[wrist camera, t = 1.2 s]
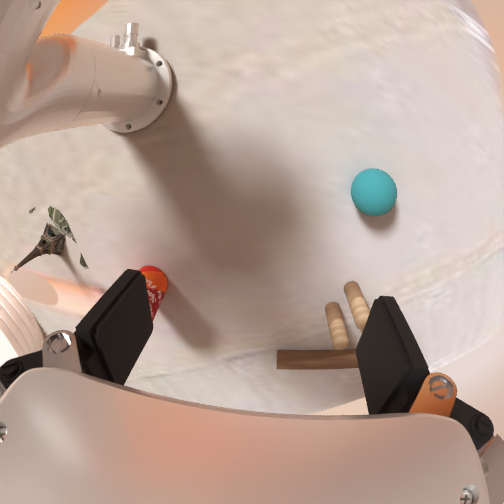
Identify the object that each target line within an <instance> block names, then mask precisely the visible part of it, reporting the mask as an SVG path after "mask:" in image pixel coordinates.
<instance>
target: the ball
mask: <svg viewBox="0 0 504 504" xmlns="http://www.w3.org/2000/svg"><path fill="white" fill-rule="evenodd" d="M351 195H352V199H353V202H354V204H355V205H356V207H357V208H358V209H359V210H360V211H361V212H363V213H364V214H367V215H370V216H380V215H383V214H385V213H387V212H389V211H390V210H391V209H392V207H393V206H394V204H395V202H396V198H397V189H396V185H395V183H394V181H393V179H392V178H391V177H390V176H389V175H388V174H387V173H386V172H384V171H382V170H379V169H367V170H364V171H362V172H361V173H359V174H358V175H357V176H356V178H355V179H354V181H353V183H352V187H351Z"/></svg>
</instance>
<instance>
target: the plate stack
mask: <svg viewBox="0 0 504 504" xmlns="http://www.w3.org/2000/svg"><path fill="white" fill-rule="evenodd" d="M43 342H44V338H43V335H42V332H41V329H40V327H39V325H38V323H37V321H36V319H35V317H34V315H33V314H32V312H31V310H30V309H29V307H28V306H27V304H26V303H25V302H24V300H23V299H22V298H21V296H20V294H19V293H18V292H17V291H16V289H15V288H14V287H13V286H12V285H10V284H9V283H8V282H7V281H6V280H5V279H3V278H2V277H1V276H0V365H1V366H2V365H3V363H5V362H6V361H8V360H10V359H13V358H16V357H20V356H23V355H26V354H30V353H33V352H36V351H40V350H42V346H43Z"/></svg>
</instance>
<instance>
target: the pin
mask: <svg viewBox="0 0 504 504" xmlns="http://www.w3.org/2000/svg"><path fill="white" fill-rule="evenodd" d="M325 311H326V316H327V320H328V325H329V330H330V335H331V340H332V345H333V348H334V349H336V350H343V349H345V348H347V347H348V345H349V339H348V335H347V332H346V328H345V324H344V321H343V317H342V314H341V310H340V307H339V304H338V303H336V302H331V303H328V304H327V305H326V307H325Z"/></svg>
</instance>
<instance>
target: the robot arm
mask: <svg viewBox="0 0 504 504" xmlns="http://www.w3.org/2000/svg"><path fill="white" fill-rule="evenodd" d="M59 2H60V0H0V149H1V148H3V147H5V146H7V145H8V144H10V143H13V142H15V141H17V140H20V139H23V138H26V137H29V136H32V135H36V134H41V133H45V132H50V131H56V130H61V129H67V128H74V127H81V126H88V125H96V124H103V125H104V126H105V127H107V128H108V129H110V130H113V131H116V132H133V131H137V130H140V129H142V128H144V127H146V126H148V125H149V124H151V123H152V122H153V121H155V120H156V119H157V118H158V116H159V115H160V114H161V113H162V111H163V110H164V109H165V107H166V105H167V103H168V101H169V99H170V95H171V91H172V82H173V81H172V73H171V70H170V66H169V65H168V63H167V61H166V60H165V59H164V58H163V57H162V55H160V54H159V53H157V52H156V51H154V50H152V49H149V48H145V47H140V43H138V42H137V36H138V26H139V24H138V23H128V24H126V25H125V27H124V44H122V45H121V50H120V49H119V44H120V36H112V37H111V38H110V46H108V45H105V44H102V43H98V42H95V41H92V40H88V39H85V38H81V37H78V36H74V35H70V34H53V35H49V36H45V37H41V38H39V36H40V34H41V32H42V30H43V28H44V27H45V25H46V23H47V21H48V20H49V18H50V16H51V14H52V13H53V11H54V10H55V8H56V6H57V5H58V3H59ZM38 38H39V39H38ZM161 63H162V65H161V66H160V64H161ZM161 101H163V102H162V104H161V103H160V102H161ZM130 125H131V127H130ZM152 331H153V321H152V316H151V310H150V304H149V298H148V292H147V285H146V278H145V275H142V273H141V271H139V270H132V269H127V270H126V271H125V272H124V273H123V274H122V275H121V276H120V277H119V278H118V279H117V280H116V281H115V283H114V284H113V285H112V286H111V287H110V288H109V289H108V290H107V291H106V293H105V294H104V295H103V296H102V297H101V298H100V299H99V300H98V302H97V303H96V304H95V305H94V306H93V307H92V309H91V310H90V311H89V312H88V313H87V314H86V316H85V317H84V318H83V319H82V320H81V322H80V323H79V324H78V325H77V326H76V331H75V332H74V334H73V333H72V332H70V331H67V330H59V331H56V332H53V333H51V334H50V335H48V336H47V337H46V338H45V340H44V342H43V346H42V350H40V351H36V352H33V353H30V354H26V355H23V356H20V357H16V358H13V359H10V360H8V361H6V362H5V363H3V365H2V366H1V367H0V504H503V502H504V441H503V440H502V439H501V437H500V436H499V435H498V434H497V435H496V436H494V435H493V432H494V428H493V424H492V422H491V420H490V419H489V417H488V416H486V415H485V414H483V413H481V412H480V411H478V410H476V409H475V408H473V407H471V406H470V405H468V404H466V403H464V402H463V401H461V400H459V399H458V398H456V395H457V388H456V385H455V383H454V382H453V380H452V379H451V378H450V377H448V376H447V375H445V374H442V373H437V372H436V373H431V374H430V372H429V370H428V365H427V363H426V361H425V359H424V357H423V354H422V352H421V350H420V348H419V346H418V344H417V342H416V339H415V337H414V335H413V333H412V331H411V329H410V327H409V325H408V323H407V321H406V319H405V317H404V315H403V313H402V312H401V310H400V308H399V306H398V304H397V302H396V300H395V298H394V297H391V296H380V297H379V298H378V299H375V300H374V302H373V305H372V308H371V311H370V314H369V316H368V319H367V322H366V325H365V327H364V330H363V333H362V335H361V338H360V340H359V343H358V345H357V348H356V357H357V361H358V366H359V370H360V374H361V379H362V383H363V388H364V392H365V397H366V401H367V407H368V412H369V415H341V416H339V415H338V416H321V415H319V416H318V415H293V414H277V413H265V412H255V411H246V410H238V409H230V408H223V407H217V406H211V405H205V404H199V403H194V402H189V401H184V400H179V399H174V398H170V397H165V396H161V395H157V394H153V393H149V392H145V391H142V390H138V389H134V388H131V387H127V386H124V384H125V382H126V380H127V378H128V376H129V374H130V372H131V370H132V368H133V367H134V365H135V363H136V361H137V359H138V357H139V355H140V354H141V352H142V350H143V348H144V346H145V344H146V343H147V341H148V339H149V337H150V335H151V333H152Z"/></svg>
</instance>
